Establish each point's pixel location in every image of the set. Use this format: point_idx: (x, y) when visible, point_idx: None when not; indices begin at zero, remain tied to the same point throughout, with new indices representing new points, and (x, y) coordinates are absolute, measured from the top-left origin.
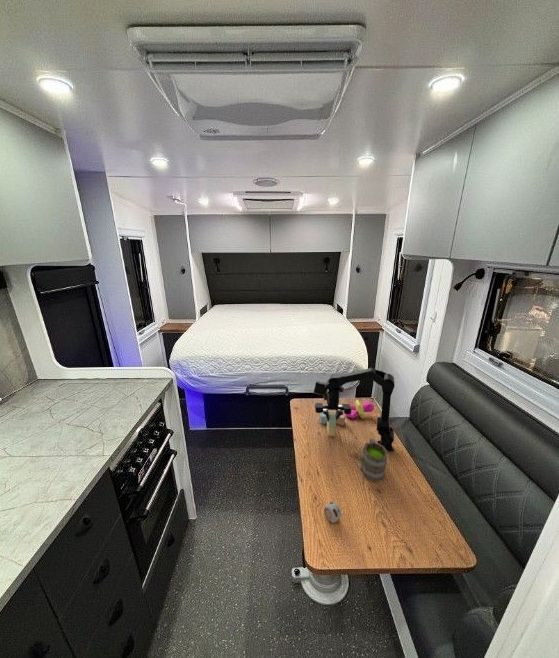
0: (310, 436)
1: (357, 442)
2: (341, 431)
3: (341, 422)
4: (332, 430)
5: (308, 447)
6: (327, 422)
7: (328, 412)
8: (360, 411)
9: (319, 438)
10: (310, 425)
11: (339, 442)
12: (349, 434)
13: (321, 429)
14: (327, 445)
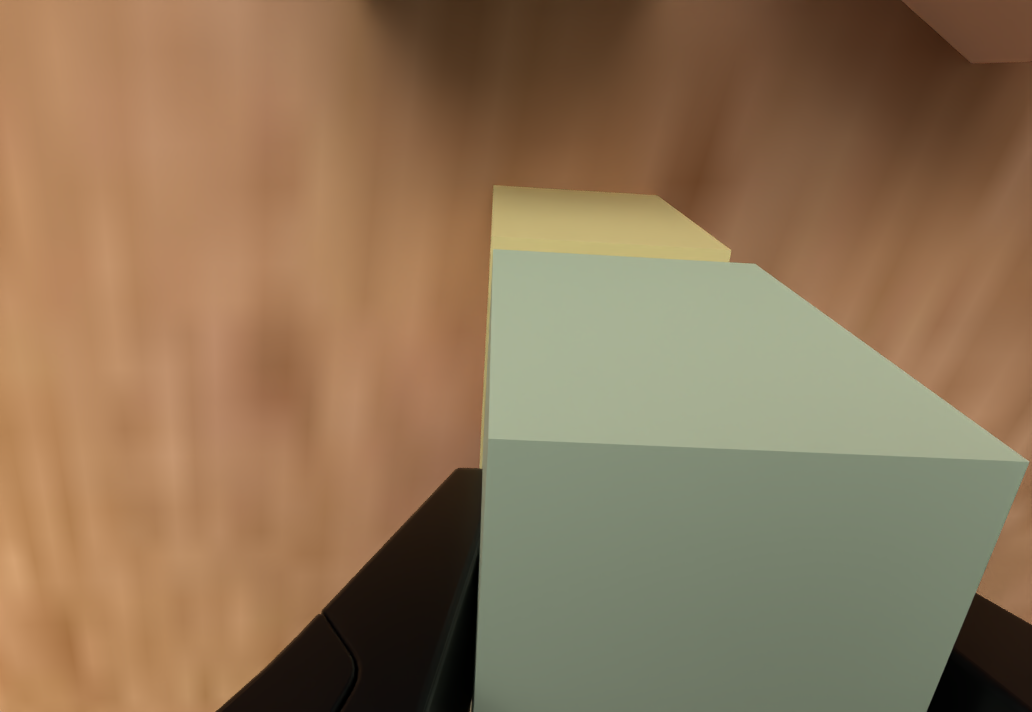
0: (84, 462)
1: (1006, 585)
2: (834, 297)
3: (1005, 32)
4: None
5: (81, 702)
6: (489, 276)
7: (510, 480)
8: None
9: (284, 510)
10: (28, 59)
11: None
12: (972, 390)
13: (346, 231)
14: None
